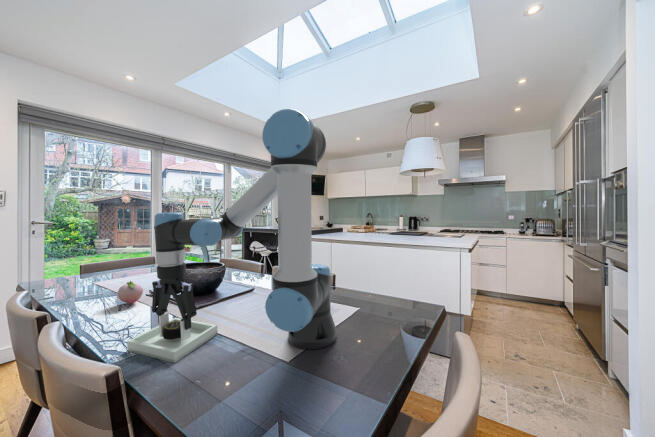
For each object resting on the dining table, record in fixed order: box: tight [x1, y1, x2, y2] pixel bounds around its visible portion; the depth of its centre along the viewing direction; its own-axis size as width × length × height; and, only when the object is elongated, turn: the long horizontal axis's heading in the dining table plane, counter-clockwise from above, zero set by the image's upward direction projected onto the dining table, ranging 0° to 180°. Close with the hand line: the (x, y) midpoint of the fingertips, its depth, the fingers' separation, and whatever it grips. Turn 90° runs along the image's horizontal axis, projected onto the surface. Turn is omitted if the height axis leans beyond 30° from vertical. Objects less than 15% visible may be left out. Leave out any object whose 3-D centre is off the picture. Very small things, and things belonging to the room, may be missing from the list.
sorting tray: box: [126, 317, 219, 364], centre depth 81 cm, size 18×16×3 cm
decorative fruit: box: [117, 280, 144, 305], centre depth 111 cm, size 9×8×10 cm
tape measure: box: [162, 321, 181, 340], centre depth 81 cm, size 7×7×4 cm
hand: (175, 336), depth 81 cm, fingers closed on tape measure, 8 cm apart
